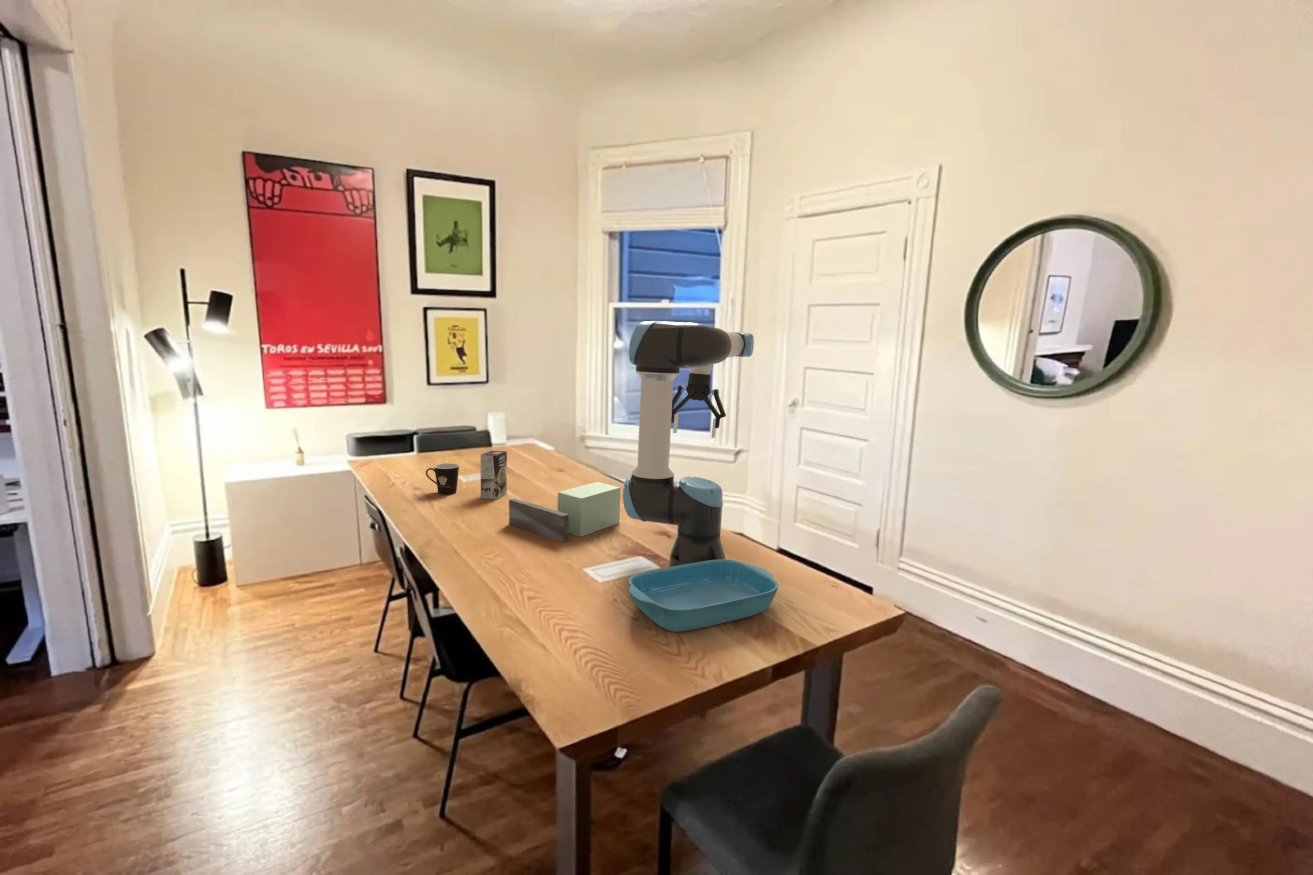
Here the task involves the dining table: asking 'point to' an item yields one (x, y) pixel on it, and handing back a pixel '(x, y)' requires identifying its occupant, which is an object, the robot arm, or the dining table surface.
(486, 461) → the coffee box
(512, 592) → the dining table surface
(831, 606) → the dining table surface
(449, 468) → the coffee mug
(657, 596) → the casserole dish
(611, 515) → the sage block
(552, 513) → the charcoal board
